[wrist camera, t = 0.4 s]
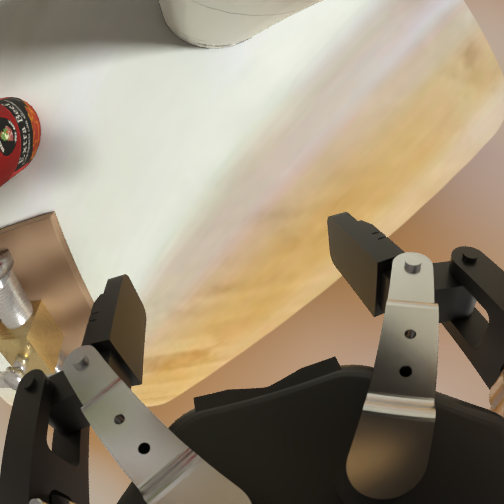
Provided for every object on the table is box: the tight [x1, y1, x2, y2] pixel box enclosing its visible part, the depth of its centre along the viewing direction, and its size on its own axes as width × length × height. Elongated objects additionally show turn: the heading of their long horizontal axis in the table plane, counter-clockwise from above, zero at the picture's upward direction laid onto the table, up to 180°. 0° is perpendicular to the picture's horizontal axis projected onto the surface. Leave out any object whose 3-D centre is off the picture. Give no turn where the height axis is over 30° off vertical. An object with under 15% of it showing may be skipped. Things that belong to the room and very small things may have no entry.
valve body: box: [0, 249, 67, 377], centre depth 27 cm, size 20×6×9 cm, turn 6°
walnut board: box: [0, 211, 94, 357], centre depth 31 cm, size 24×17×2 cm
